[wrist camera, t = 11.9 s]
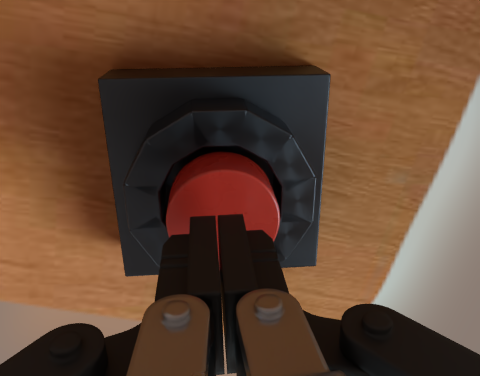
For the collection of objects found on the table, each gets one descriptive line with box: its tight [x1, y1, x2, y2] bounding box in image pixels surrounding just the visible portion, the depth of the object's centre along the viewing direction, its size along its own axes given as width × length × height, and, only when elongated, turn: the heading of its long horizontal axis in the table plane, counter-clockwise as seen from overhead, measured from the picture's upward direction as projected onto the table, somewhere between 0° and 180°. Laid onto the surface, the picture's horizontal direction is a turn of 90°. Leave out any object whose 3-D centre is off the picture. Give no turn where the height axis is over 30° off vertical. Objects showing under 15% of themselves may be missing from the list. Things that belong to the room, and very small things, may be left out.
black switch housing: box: [98, 66, 330, 276], centre depth 16 cm, size 8×8×4 cm
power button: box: [166, 152, 280, 270], centre depth 14 cm, size 4×4×2 cm
